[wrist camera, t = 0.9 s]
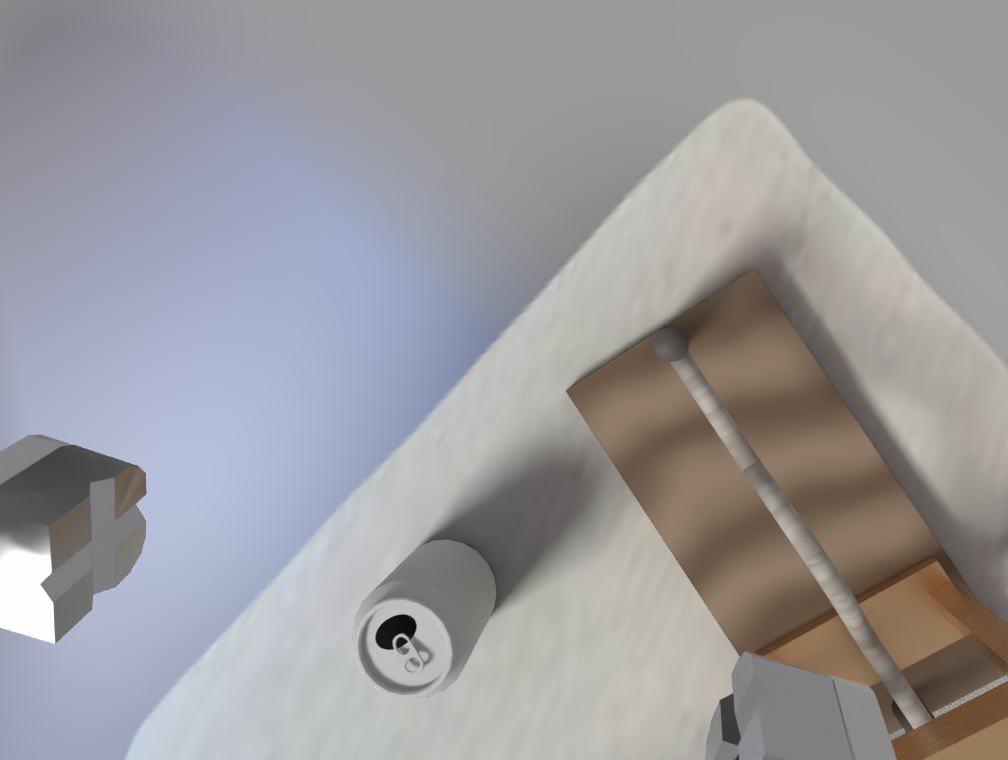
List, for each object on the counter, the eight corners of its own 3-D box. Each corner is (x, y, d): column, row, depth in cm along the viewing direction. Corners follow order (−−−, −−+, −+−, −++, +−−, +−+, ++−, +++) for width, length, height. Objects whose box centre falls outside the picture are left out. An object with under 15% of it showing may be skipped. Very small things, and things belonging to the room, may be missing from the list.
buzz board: (1010, 656, 51) (1140, 767, 38) (810, 760, 54) (867, 897, 41) (750, 270, 53) (789, 248, 39) (567, 389, 55) (546, 406, 42)
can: (461, 517, 57) (416, 564, 45) (518, 601, 57) (488, 671, 45) (382, 570, 58) (318, 629, 46) (437, 652, 58) (387, 734, 46)
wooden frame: (973, 620, 50) (1124, 746, 35) (794, 715, 52) (861, 873, 37) (930, 555, 50) (1060, 652, 35) (753, 653, 52) (802, 784, 37)
